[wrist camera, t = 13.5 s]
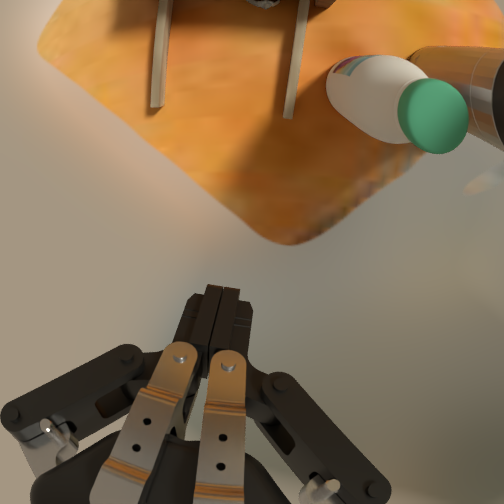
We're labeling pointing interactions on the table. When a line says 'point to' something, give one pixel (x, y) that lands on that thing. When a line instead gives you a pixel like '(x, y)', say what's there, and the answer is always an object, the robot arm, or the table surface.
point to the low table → (163, 42)
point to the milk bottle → (398, 102)
